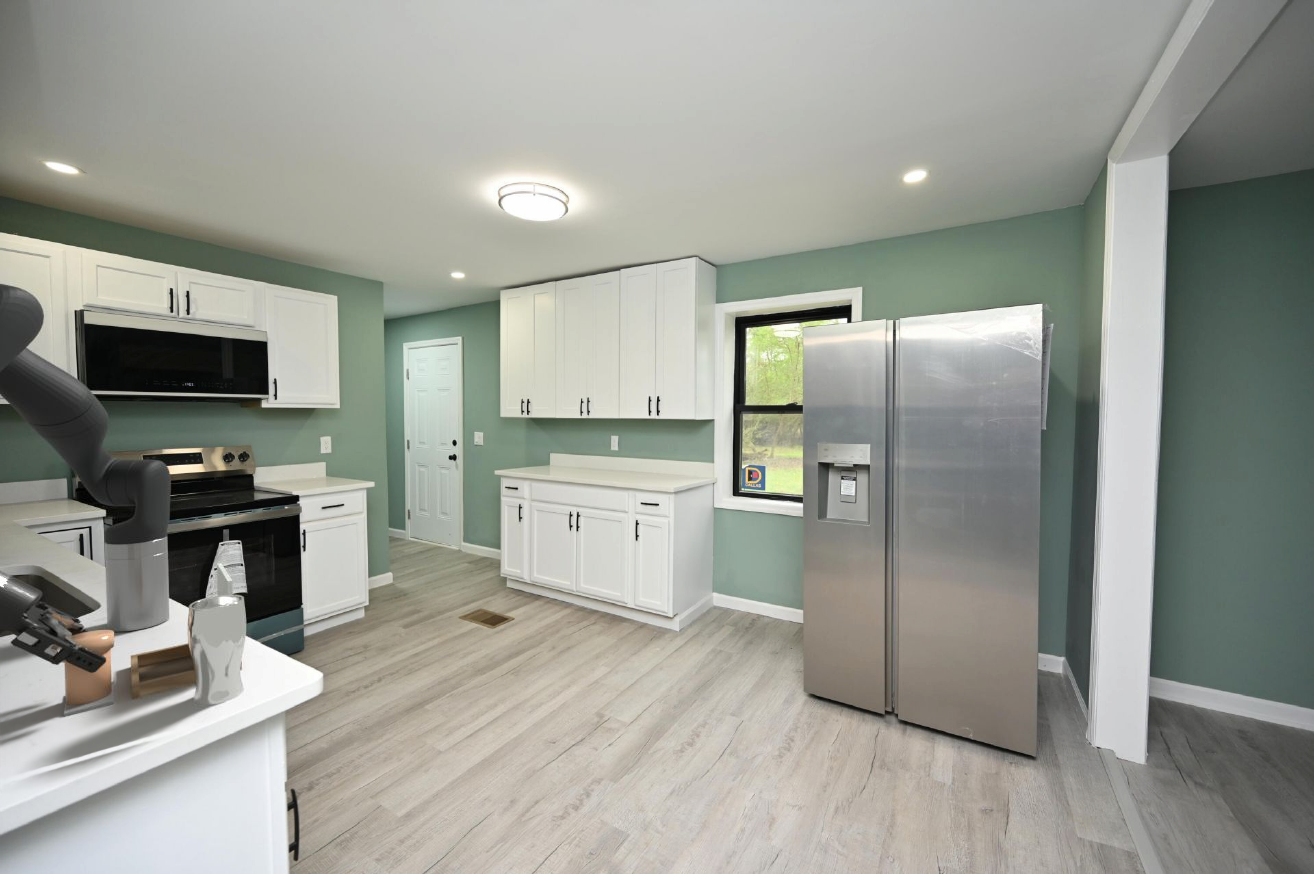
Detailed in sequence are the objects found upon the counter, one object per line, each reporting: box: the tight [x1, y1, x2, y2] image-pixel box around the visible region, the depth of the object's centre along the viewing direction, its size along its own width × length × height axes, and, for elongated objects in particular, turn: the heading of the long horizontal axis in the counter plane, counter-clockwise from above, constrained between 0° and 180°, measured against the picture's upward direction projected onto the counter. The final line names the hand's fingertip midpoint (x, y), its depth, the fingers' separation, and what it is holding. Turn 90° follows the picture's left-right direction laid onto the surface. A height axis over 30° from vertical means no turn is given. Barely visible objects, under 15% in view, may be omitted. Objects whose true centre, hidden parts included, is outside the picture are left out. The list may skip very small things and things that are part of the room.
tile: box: [63, 681, 115, 717], centre depth 83 cm, size 8×5×1 cm, turn 44°
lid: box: [216, 562, 234, 596], centre depth 96 cm, size 14×1×9 cm, turn 44°
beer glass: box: [187, 594, 247, 707], centre depth 84 cm, size 7×7×15 cm
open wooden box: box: [130, 642, 243, 700], centre depth 92 cm, size 14×13×12 cm
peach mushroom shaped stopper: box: [59, 629, 115, 705], centre depth 82 cm, size 6×6×9 cm
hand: (101, 656), depth 83 cm, fingers open, 8 cm apart
